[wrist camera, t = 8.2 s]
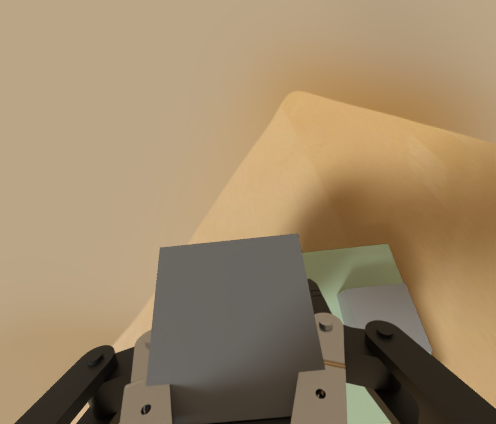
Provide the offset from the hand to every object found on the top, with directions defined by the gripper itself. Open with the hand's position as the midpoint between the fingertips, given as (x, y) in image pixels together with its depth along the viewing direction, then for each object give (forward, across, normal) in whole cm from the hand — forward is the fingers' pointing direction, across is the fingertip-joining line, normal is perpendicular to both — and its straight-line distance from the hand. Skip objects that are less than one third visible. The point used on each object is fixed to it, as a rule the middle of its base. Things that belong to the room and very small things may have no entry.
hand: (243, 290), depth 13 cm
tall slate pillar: (+2, 0, +4) cm, 5 cm away
